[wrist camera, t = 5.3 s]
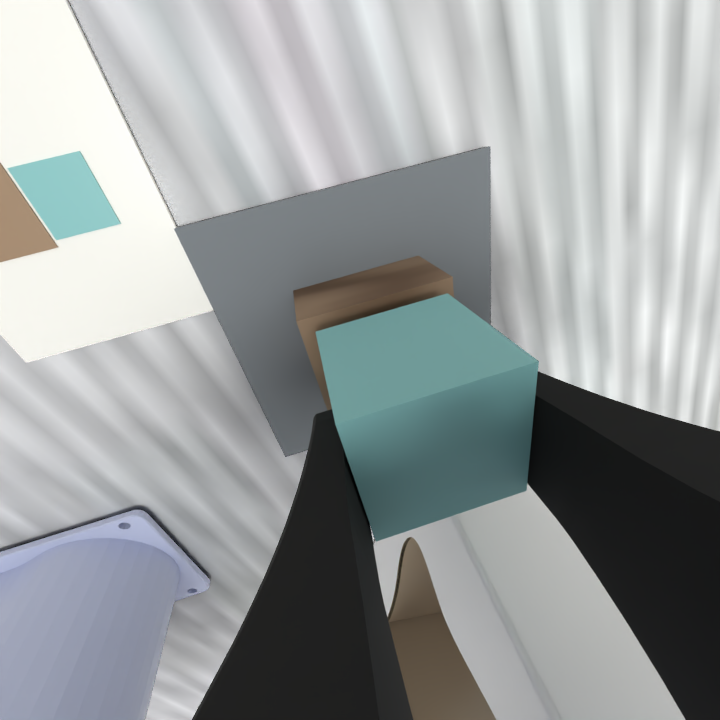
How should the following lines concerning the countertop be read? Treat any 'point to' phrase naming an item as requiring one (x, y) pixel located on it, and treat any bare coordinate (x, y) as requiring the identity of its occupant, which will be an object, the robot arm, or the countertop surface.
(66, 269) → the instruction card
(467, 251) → the build mat
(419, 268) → the walnut block
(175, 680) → the countertop surface
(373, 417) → the teal cube
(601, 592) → the gable box
